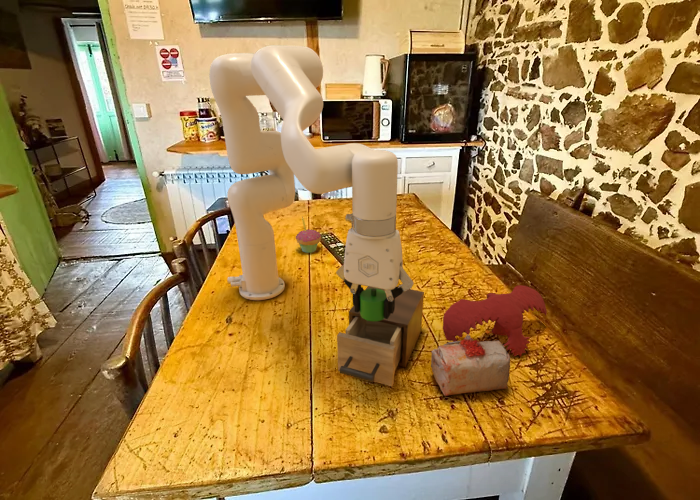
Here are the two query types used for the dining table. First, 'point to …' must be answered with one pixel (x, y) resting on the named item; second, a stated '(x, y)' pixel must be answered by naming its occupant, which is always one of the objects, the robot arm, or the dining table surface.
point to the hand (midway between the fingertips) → (373, 311)
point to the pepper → (372, 304)
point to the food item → (470, 366)
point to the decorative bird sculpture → (495, 316)
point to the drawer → (370, 350)
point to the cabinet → (403, 319)
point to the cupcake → (308, 239)
